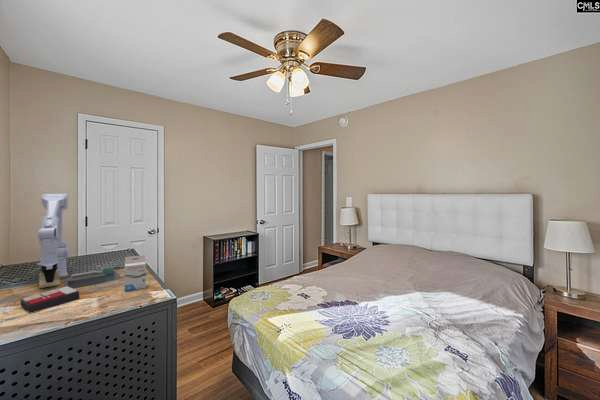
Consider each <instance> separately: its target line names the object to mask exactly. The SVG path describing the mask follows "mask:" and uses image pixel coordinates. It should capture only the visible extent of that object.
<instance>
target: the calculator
mask: <svg viewBox="0 0 600 400" xmlns="http://www.w3.org/2000/svg"><path fill="white" fill-rule="evenodd" d="M79 299H80V291H79V290H77V289H76V288H70V287H68V286H66V287H65V286H63V287H60V288H56V289H51V290H49V291H44V292H41V293H37V294H33V295H29V296H26V297H23V298H22V299H20V307H21V306H22V307H23V309H24V308H25V309H26V310H25V309H24V310H25V311H27V310H28V311H29V312H28V311H27V312H28V313H30V312H32V313H35V312H34V311H36V312H39V311H42V310H46V309H50V308H52V307H56V306H58V305H62V304H65V303H71V302H73V301H77V300H79ZM22 307H21V308H22Z"/></svg>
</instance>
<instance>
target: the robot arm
mask: <svg viewBox="0 0 600 400" xmlns="http://www.w3.org/2000/svg"><path fill="white" fill-rule="evenodd" d="M68 195H69V194H67V193H42V195H41V204H42V206H43V208H44V209H45V210H46V215H44V216H43V218H42V220H41V227H40V228H39V229H38V231H37V237H38V243H39V245H40V248H39V249H40V250H39V251H40V262H37V266H40V268H41V269H40V271H41V273H43V274H44V276H45V279H46V282H47V283H50V282H53V280H54V275H55V272H56V271H58V270H60V277H65V276H68V274H69V273H68V270H67V258H69V257H70V253H71V252H70V251H71V250H70V244H69V243H68V242H67V241H65V240H63V213H64V211H65V210H67V209H68V207H69V196H68Z"/></svg>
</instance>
